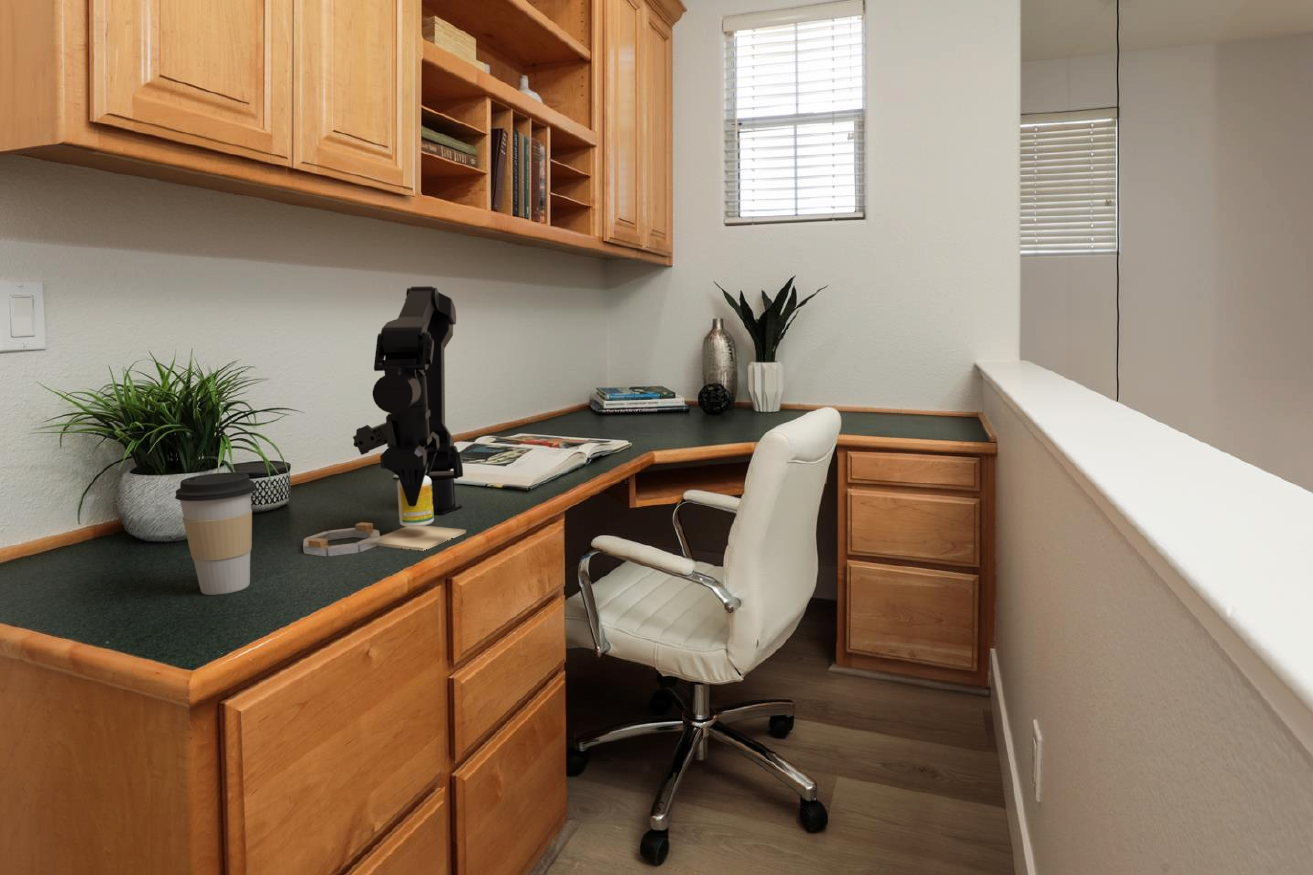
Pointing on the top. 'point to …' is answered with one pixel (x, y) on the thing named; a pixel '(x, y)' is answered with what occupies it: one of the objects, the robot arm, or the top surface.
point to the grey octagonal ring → (319, 541)
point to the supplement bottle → (421, 511)
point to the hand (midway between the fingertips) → (415, 501)
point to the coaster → (419, 537)
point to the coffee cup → (219, 529)
